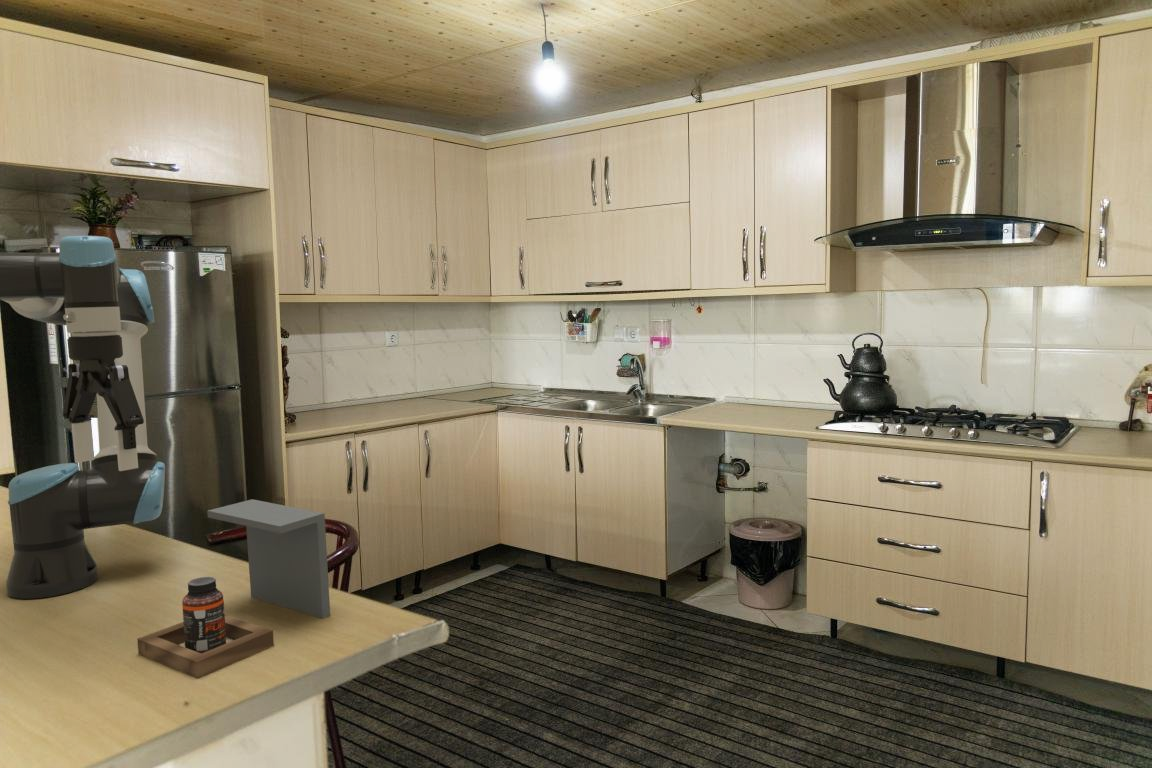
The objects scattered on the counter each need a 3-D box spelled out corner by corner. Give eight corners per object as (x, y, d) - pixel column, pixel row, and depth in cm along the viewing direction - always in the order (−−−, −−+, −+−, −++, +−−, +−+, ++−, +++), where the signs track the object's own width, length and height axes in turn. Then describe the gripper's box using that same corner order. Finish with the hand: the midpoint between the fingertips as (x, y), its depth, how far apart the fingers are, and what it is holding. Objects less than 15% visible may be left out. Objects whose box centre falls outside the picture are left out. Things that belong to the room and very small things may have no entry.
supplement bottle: (211, 659, 126) (206, 588, 125) (177, 656, 127) (171, 586, 126) (234, 643, 132) (229, 575, 131) (201, 640, 133) (196, 573, 132)
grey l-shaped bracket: (214, 610, 146) (207, 510, 144) (258, 594, 153) (252, 499, 151) (286, 633, 135) (280, 526, 133) (330, 615, 143) (324, 513, 140)
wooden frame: (138, 653, 129) (137, 638, 128) (214, 625, 139) (213, 610, 139) (198, 678, 120) (196, 661, 120) (273, 645, 131) (272, 630, 130)
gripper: (31, 334, 134) (43, 462, 137) (111, 336, 121) (123, 477, 123) (79, 332, 140) (90, 454, 143) (161, 333, 127) (171, 468, 129)
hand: (106, 465), depth 133 cm, fingers open, 13 cm apart
